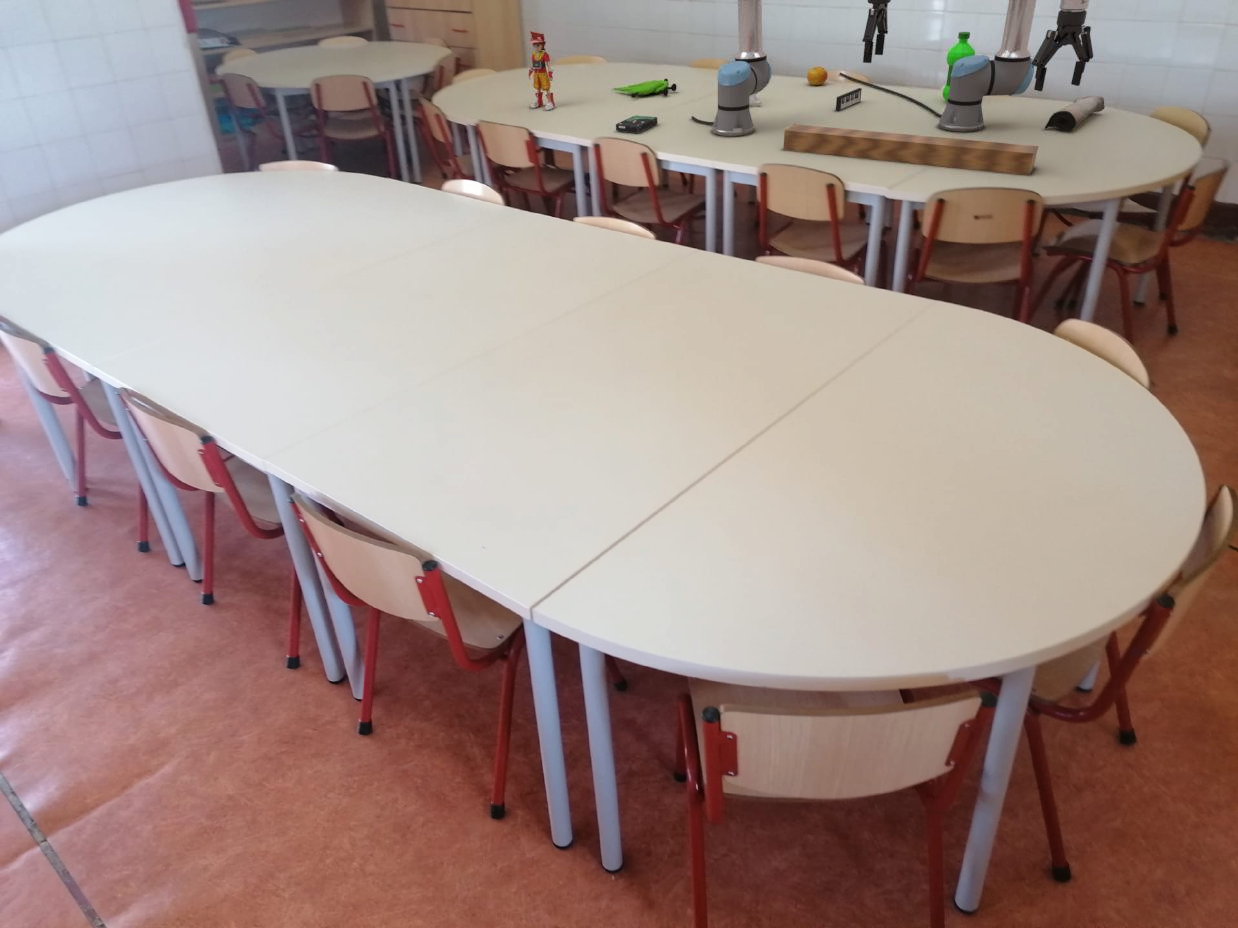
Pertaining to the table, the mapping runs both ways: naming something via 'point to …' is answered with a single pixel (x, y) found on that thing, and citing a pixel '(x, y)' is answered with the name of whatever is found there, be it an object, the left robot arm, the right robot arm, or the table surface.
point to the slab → (912, 149)
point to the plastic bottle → (957, 57)
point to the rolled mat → (1075, 113)
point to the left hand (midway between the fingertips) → (873, 59)
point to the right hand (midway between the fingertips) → (1056, 88)
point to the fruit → (817, 76)
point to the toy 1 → (541, 71)
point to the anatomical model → (753, 100)
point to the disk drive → (636, 124)
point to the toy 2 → (648, 88)
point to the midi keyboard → (848, 99)
